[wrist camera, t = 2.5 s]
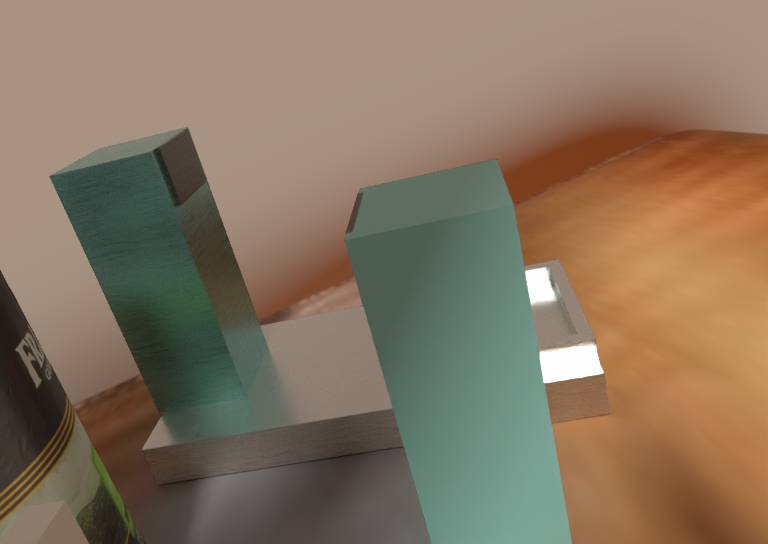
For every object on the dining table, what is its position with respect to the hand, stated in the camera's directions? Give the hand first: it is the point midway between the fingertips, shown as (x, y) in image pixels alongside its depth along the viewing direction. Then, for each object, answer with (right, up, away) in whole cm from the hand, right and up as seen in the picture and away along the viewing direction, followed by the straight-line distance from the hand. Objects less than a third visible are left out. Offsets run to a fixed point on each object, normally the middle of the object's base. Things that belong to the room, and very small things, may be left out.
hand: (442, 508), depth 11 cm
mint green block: (+3, -4, +13) cm, 14 cm away
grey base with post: (-1, -2, +22) cm, 22 cm away
